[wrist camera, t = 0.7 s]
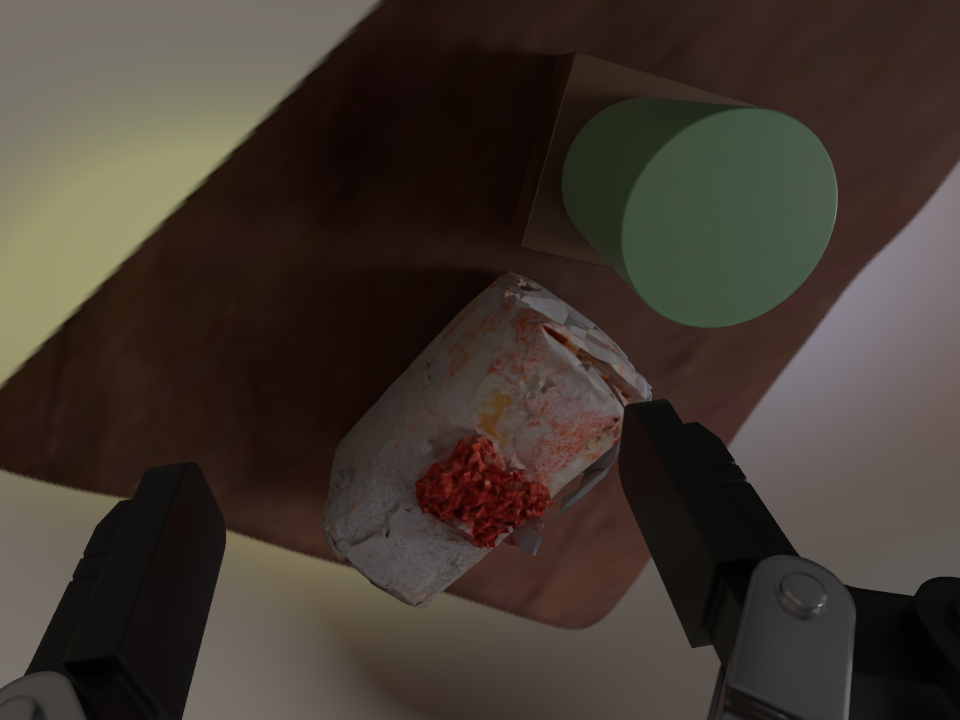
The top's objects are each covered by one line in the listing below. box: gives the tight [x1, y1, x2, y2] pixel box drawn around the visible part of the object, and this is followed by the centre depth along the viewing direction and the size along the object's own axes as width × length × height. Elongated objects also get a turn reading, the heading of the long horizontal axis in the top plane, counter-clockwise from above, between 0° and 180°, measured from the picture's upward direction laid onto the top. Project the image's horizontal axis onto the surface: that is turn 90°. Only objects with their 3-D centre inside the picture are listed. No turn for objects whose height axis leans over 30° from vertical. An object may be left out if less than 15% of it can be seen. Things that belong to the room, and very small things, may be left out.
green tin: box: [561, 97, 838, 328], centre depth 19 cm, size 6×6×8 cm
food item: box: [320, 271, 652, 608], centre depth 25 cm, size 14×8×10 cm, turn 138°
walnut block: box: [511, 52, 757, 269], centre depth 24 cm, size 7×7×4 cm
